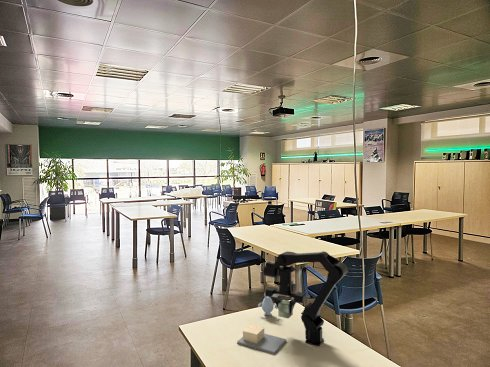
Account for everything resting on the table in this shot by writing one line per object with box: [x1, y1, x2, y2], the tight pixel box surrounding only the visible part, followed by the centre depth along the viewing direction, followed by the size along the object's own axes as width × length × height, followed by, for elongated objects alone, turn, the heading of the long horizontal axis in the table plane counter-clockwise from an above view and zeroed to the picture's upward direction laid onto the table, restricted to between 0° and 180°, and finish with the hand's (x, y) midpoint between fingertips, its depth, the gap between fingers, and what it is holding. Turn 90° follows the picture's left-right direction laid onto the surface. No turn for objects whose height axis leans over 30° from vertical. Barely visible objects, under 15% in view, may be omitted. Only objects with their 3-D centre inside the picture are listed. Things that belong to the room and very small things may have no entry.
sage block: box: [277, 299, 294, 319], centre depth 156 cm, size 5×5×6 cm
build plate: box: [236, 324, 287, 355], centre depth 148 cm, size 18×12×5 cm, turn 60°
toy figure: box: [257, 292, 278, 317], centre depth 175 cm, size 11×6×12 cm, turn 75°
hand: (285, 312), depth 156 cm, fingers closed on sage block, 5 cm apart
